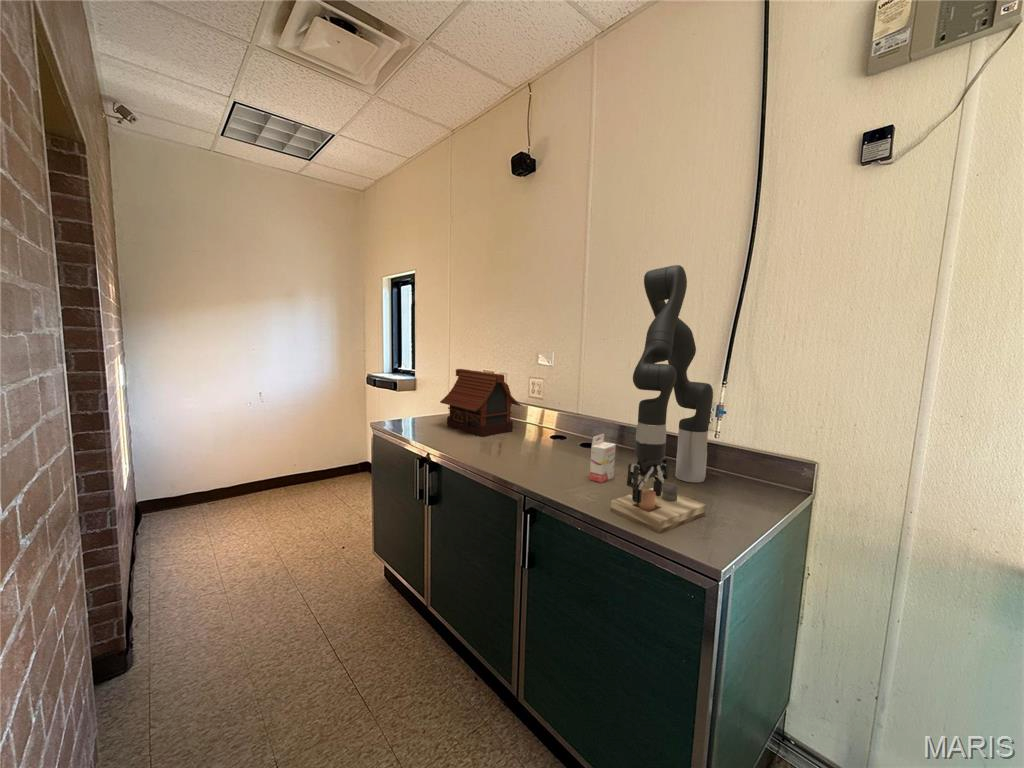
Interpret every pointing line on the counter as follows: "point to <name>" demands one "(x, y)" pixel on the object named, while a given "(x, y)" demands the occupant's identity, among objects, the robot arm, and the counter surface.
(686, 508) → the pin board
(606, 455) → the ink cartridge box
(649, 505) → the terracotta pin
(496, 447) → the counter surface
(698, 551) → the counter surface
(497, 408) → the house
